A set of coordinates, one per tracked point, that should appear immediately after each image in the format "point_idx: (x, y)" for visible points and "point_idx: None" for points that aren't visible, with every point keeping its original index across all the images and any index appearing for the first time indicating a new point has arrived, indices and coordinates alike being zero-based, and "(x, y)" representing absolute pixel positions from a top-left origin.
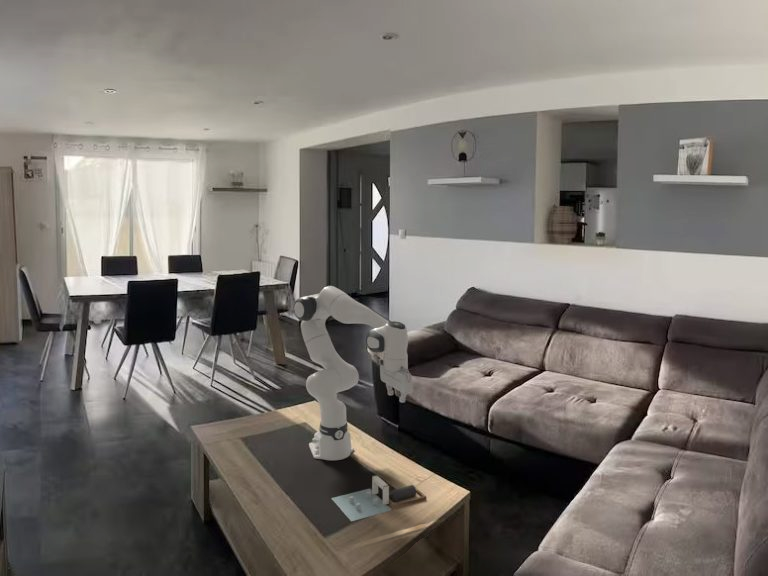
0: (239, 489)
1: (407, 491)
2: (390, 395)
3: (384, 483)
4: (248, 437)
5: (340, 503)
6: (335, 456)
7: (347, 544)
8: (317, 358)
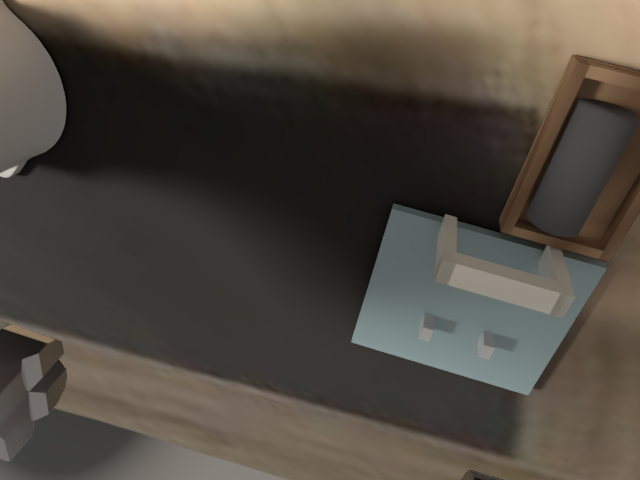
0: (131, 426)
1: (612, 170)
2: (65, 375)
3: (538, 293)
4: None
5: (404, 346)
6: (49, 128)
7: (600, 452)
8: None
